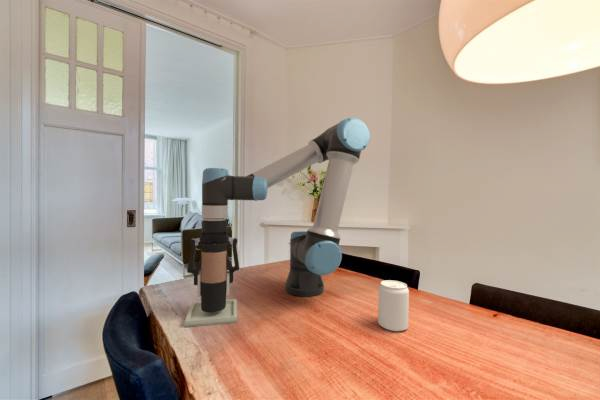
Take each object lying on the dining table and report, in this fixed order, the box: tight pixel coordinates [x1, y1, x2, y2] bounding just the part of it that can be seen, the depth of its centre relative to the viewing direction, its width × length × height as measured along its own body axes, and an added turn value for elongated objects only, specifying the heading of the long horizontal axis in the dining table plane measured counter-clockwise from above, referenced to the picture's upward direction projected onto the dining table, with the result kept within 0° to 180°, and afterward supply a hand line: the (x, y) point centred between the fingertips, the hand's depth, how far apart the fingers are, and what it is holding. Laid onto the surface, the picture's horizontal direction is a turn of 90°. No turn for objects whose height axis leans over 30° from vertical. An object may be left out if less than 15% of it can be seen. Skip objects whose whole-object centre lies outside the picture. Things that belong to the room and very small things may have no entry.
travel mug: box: [200, 242, 228, 312], centre depth 83 cm, size 8×8×20 cm
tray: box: [184, 298, 238, 328], centre depth 83 cm, size 14×14×2 cm
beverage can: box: [377, 279, 410, 332], centre depth 77 cm, size 8×8×12 cm
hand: (213, 294), depth 83 cm, fingers closed on travel mug, 8 cm apart
